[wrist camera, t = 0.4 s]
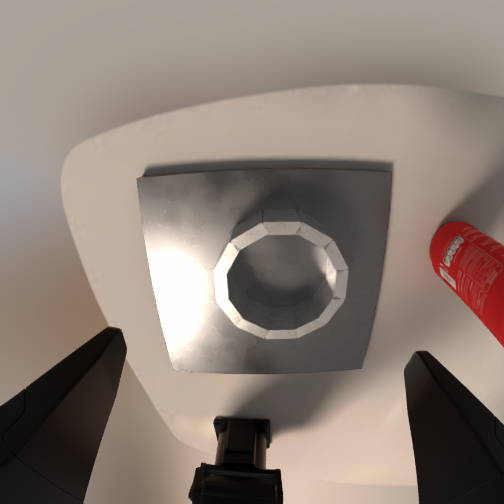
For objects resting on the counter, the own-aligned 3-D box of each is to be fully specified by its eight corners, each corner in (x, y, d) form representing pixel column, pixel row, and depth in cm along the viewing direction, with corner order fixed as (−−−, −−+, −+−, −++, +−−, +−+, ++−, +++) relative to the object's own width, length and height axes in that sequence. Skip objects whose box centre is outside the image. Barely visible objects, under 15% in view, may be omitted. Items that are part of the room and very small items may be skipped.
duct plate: (359, 361, 27) (368, 390, 23) (175, 363, 28) (165, 392, 24) (386, 170, 20) (410, 180, 16) (141, 176, 21) (118, 186, 17)
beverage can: (454, 205, 20) (556, 264, 9) (478, 244, 22) (563, 311, 10) (415, 248, 22) (500, 334, 11) (442, 283, 23) (515, 368, 12)
